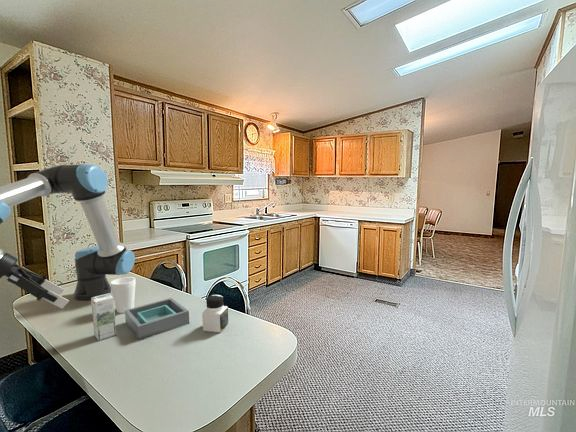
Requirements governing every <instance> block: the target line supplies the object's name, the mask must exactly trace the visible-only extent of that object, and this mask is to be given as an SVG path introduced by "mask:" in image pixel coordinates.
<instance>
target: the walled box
mask: <svg viewBox="0 0 576 432" xmlns="http://www.w3.org/2000/svg"><path fill="white" fill-rule="evenodd" d="M124 315H125V323H126V325H127V326H128V328H129V329H130V330H131V332H132V333H133V334H134V335H135V337H136V336H137V337H136V338H137V340H139V341H141V339H142V340H145V339H148V338H150V337H154V336H156V335H160V334H162V333H165V332H169V331H171V330H173V329H177V328H179V327H183V326H186V325H189V324H190V312H189V310H188V309H186V308H185V306H183V305H181V304H180V303H179V302H178V301H176V300H175V299H174V298H172V297H168V298H166V299H161V300H158V301H155V302H154V301H153V302H151V303H147V304H143V305H140V306H139V305H138V306H134V308H132V309H128V310H125V313H124ZM153 335H154V336H153ZM144 338H145V339H144Z"/></svg>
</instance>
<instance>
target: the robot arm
mask: <svg viewBox="0 0 576 432" xmlns="http://www.w3.org/2000/svg"><path fill="white" fill-rule="evenodd" d="M108 184H109V179H108V176H107V174H106V172H105V171H104V170H103V169H102V168H101V167H100V166H98V165H95V164H88V163H83V164H59V165H55V166H51V167H48V168H45V169H42V170H39V171H36V172H33V173H30V174H29V175H28V176H27V178H24V179H20V180H18V181H17V180H16V181H14V182H11V183H8V184H5V185H1V186H0V225H1V224H2V223H4V222H5V220H6V219H7V218H8V217H9V216H10V215H11V213H12V210H11V208H12V207H15V206H16V205H19V204H21V203H25V202H27V201H30V200H33V199H34V198H38V197H46V196H47V197H48V196H49V195H53V194H71V195H72V198H73V199H74V201H76V202H78V203H80V205H81V207H82V209H83V212H84V214H85V217H86V219H87V222H88V224H89V227H90V229H91V231H92V233H93V237H94V239H95V241H96V244H97V246H91V247H88V248H82V249H79V250H77V251H76V252H75V253H74V262H75V263H74V264H75V272H76V278H77V282H76V286H75V289H74V294H73V295H74V299H75V300H78V301H89V300H90V301H91V298H92V297H96V296H100V295H104V294H108V293H109V294H111V292H112V289H111V284H110V282H109V280H108V278H107V276H106V275H108V276H109V275H110V276H112V275H113V276H120V275H121V276H124V275H127V274H129V273H130V272H131V271H132V270H133V268H134V265H135V261H136V260H135V259H136V257H135V253H134V251H132V250H130V249H127V247H126V244H124V243H123V242H121V241H120V239H119V237H118V233H117V230H116V228H115V224H114V222H113V220H112V218H111V214H110V213H109V209H108V207H107V203H106V201H105V198H104V196H105V195H106V193H107V192H106V190H107V188H108ZM18 261H19V260H18V257H15V256H14V255H11V254H9V252H5V253H4V249H2V248H0V279H2V278H3V277H4V276H5V277H6V278H7V279H6V280H7V282H9V283H11V284H14V285H15V286H17V288H20V289H22V290H23V291H24V292H27V293H28V294H29V295H31V296H32V297H35V298H36V301H39V302H40V301H41V300H44V301H45V302H48V303H49V304H51V305H54V306H56V307H58V308H60V309H64V308H65V307H66V305H67V304H68V303H69V302H70V300H69V299H67V298H65V297H63V296H61V294H62V293H63V292H64V291H65V288H63V287H61V286H59V285H57V284H55V283H54V282H52V281H50V280H48V279H47V278H48V277H47V276H45V275H40V274H38V273H36V272H34V271H31V270H29V269H27V268H24V267H22V266H20V265H18V264H17V263H18Z"/></svg>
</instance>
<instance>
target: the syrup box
mask: <svg viewBox="0 0 576 432" xmlns="http://www.w3.org/2000/svg"><path fill="white" fill-rule="evenodd" d="M90 301H91V311H92V324H93V333H94V337H96V339H97V341H99V342H100V341H102V340H105V339H108V338H111V337H115V336H117V328H116V327H117V326H116V325H117V324H116V315H115V301H114V297H113V295H111V293H108V294H104V295H100V296H96V297H92V298H91V299H90Z"/></svg>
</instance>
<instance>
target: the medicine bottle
mask: <svg viewBox="0 0 576 432" xmlns="http://www.w3.org/2000/svg"><path fill="white" fill-rule="evenodd" d="M205 301H206V309H205V310H204V311H203V312H202V313H201V314H202V315H201V318H202V330H203V332H211V333H220V334H221V333H222V332H223V331H224V329H225V328H226V327H228V325H229V307H228V306H227V305H224V296H222V295H220V294H212V295H209V296H208V297H206V299H205Z"/></svg>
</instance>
